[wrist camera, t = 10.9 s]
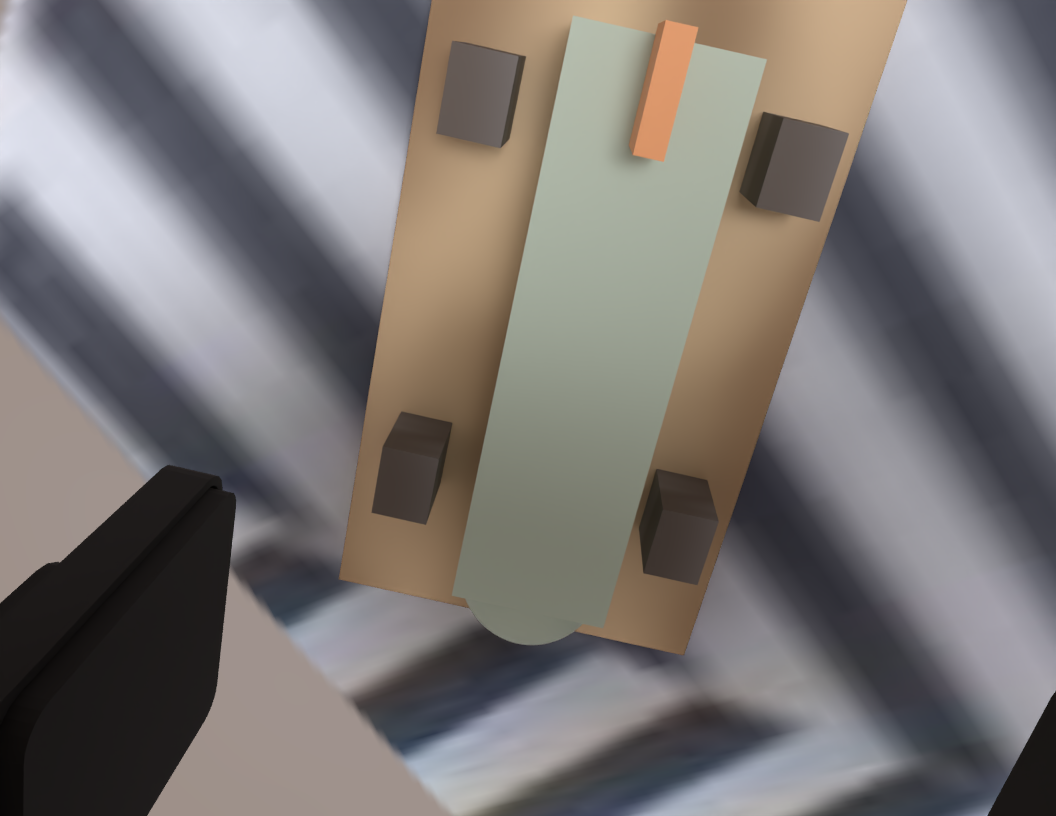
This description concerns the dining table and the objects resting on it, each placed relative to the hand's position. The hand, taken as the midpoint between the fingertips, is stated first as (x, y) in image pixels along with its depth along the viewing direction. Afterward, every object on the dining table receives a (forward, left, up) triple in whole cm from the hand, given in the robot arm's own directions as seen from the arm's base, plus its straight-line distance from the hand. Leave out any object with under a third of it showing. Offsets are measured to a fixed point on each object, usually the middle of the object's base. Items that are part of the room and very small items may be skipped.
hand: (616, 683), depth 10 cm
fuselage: (0, 0, -15) cm, 15 cm away
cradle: (0, 0, -16) cm, 16 cm away
